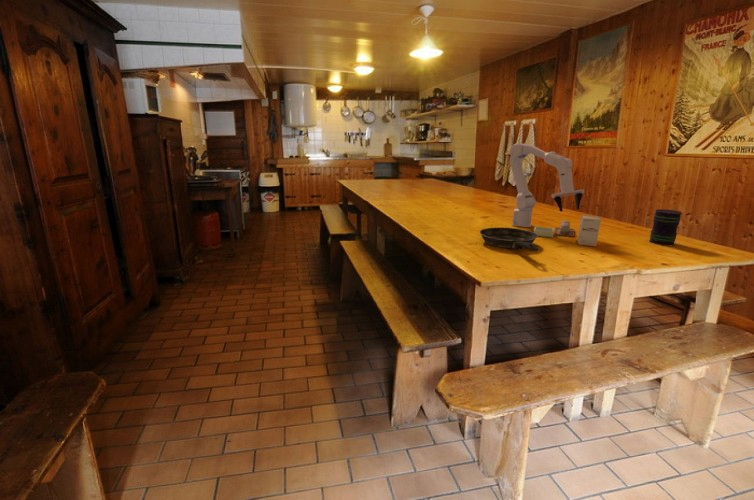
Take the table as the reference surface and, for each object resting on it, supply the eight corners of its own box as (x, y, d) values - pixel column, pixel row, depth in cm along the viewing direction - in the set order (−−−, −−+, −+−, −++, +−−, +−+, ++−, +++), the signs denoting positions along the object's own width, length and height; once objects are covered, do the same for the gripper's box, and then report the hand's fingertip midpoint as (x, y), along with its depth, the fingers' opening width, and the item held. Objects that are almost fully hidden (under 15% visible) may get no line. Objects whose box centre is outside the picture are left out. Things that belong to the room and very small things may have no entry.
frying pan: (473, 236, 195) (474, 223, 193) (524, 237, 194) (526, 223, 193) (498, 265, 153) (500, 248, 151) (564, 265, 153) (566, 248, 151)
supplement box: (578, 245, 181) (582, 217, 178) (577, 241, 188) (581, 214, 184) (596, 246, 179) (601, 219, 175) (594, 242, 185) (599, 216, 182)
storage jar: (676, 242, 186) (683, 211, 182) (672, 246, 180) (680, 214, 175) (651, 239, 193) (657, 208, 189) (646, 242, 186) (653, 211, 182)
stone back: (560, 230, 206) (561, 221, 205) (560, 228, 210) (561, 220, 209) (568, 231, 205) (569, 222, 204) (568, 229, 208) (569, 221, 207)
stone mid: (560, 232, 203) (561, 223, 201) (560, 230, 206) (561, 222, 205) (568, 233, 201) (570, 224, 200) (568, 231, 204) (569, 222, 203)
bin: (533, 235, 197) (533, 230, 196) (534, 231, 205) (535, 226, 204) (552, 237, 193) (553, 232, 193) (553, 233, 201) (554, 228, 200)
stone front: (559, 234, 199) (561, 225, 197) (560, 232, 202) (561, 223, 201) (568, 235, 197) (570, 226, 196) (568, 233, 201) (570, 224, 199)
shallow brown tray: (554, 235, 198) (554, 233, 198) (555, 228, 212) (555, 227, 212) (574, 237, 195) (574, 235, 195) (573, 230, 209) (574, 228, 209)
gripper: (552, 185, 194) (555, 212, 195) (584, 179, 191) (587, 208, 192) (549, 185, 201) (552, 212, 202) (580, 180, 198) (583, 207, 199)
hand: (569, 210), depth 198 cm, fingers open, 7 cm apart
